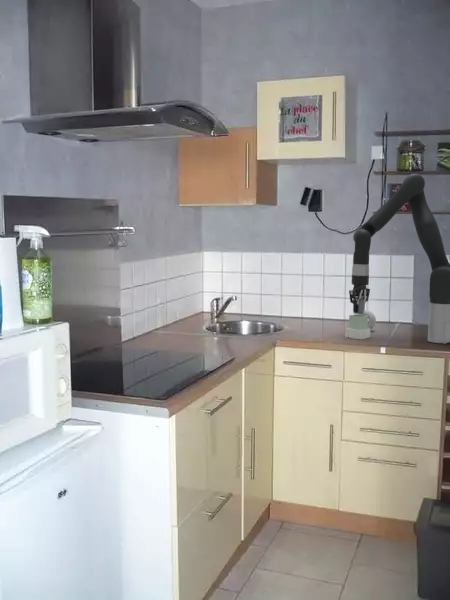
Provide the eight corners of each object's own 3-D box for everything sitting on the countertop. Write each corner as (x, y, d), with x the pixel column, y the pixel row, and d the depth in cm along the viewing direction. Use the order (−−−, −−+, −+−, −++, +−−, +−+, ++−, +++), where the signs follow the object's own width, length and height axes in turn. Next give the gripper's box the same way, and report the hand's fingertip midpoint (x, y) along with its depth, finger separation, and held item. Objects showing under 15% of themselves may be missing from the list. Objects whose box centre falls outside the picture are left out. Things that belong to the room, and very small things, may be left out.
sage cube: (367, 328, 295) (368, 315, 294) (360, 330, 291) (360, 316, 290) (356, 326, 299) (356, 313, 298) (348, 328, 295) (349, 315, 294)
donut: (376, 331, 311) (377, 310, 309) (372, 332, 308) (373, 311, 307) (358, 328, 318) (359, 308, 316) (354, 329, 315) (355, 309, 314)
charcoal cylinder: (365, 313, 294) (366, 300, 293) (360, 314, 291) (360, 300, 290) (357, 312, 297) (357, 299, 296) (351, 313, 294) (351, 299, 293)
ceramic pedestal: (370, 337, 295) (370, 328, 295) (360, 339, 290) (360, 330, 289) (355, 334, 301) (355, 326, 300) (345, 337, 295) (345, 328, 295)
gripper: (358, 275, 284) (357, 314, 286) (376, 273, 294) (374, 311, 296) (344, 274, 289) (342, 312, 291) (361, 272, 299) (360, 309, 301)
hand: (358, 311), depth 294 cm, fingers closed on charcoal cylinder, 4 cm apart
